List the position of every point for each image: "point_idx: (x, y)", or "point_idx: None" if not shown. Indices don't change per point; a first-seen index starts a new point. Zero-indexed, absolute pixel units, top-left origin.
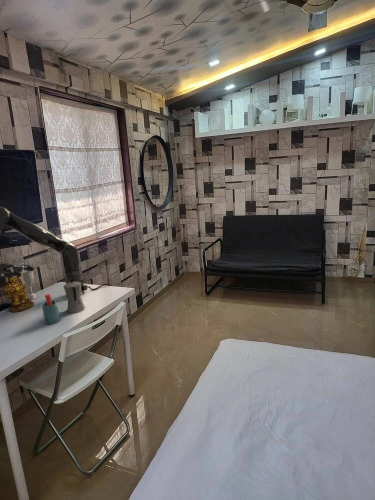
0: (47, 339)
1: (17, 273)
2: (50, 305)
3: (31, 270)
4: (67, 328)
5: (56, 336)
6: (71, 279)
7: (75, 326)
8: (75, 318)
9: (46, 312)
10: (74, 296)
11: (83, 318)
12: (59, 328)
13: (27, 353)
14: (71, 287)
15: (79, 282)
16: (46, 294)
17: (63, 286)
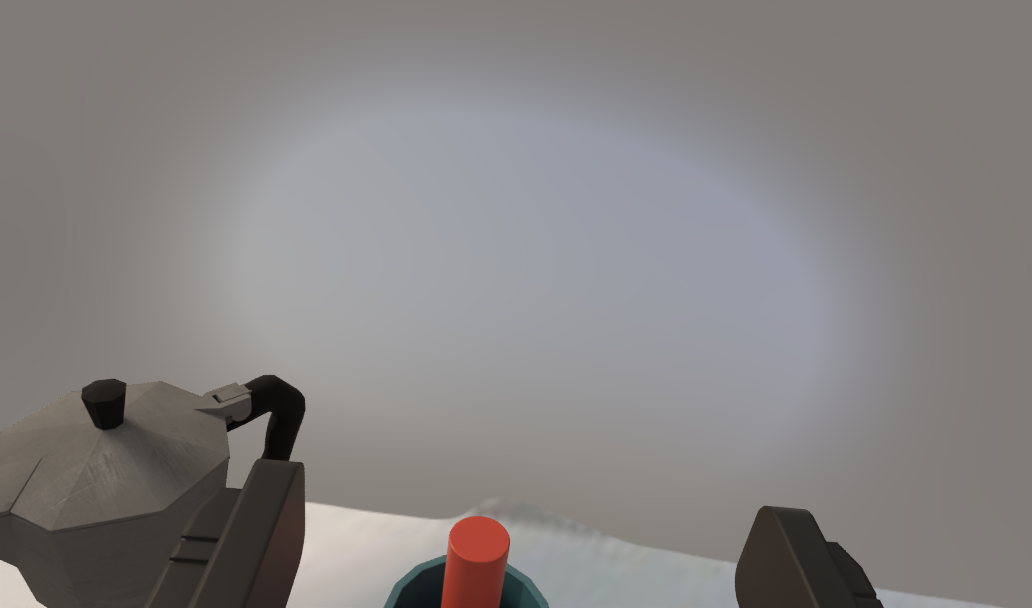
0: (715, 584)
1: (841, 555)
2: (515, 573)
3: (288, 581)
4: (538, 546)
5: (657, 553)
6: (107, 385)
7: (497, 514)
8: (369, 577)
9: None
10: (289, 456)
11: (365, 522)
12: (556, 599)
13: (892, 595)
14: (225, 421)
15: (53, 405)
16: (473, 557)
17: (165, 510)
